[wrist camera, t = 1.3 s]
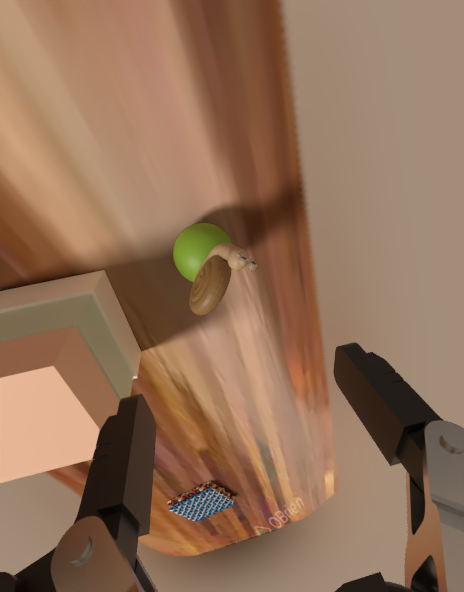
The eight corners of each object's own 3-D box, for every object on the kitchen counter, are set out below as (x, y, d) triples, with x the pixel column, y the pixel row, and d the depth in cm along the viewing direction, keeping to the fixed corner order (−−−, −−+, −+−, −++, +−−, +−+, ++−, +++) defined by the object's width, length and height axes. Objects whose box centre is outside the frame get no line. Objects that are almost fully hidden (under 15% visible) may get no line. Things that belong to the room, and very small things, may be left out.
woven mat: (210, 476, 50) (211, 488, 48) (236, 493, 56) (238, 504, 54) (164, 498, 51) (164, 511, 50) (195, 513, 57) (195, 524, 55)
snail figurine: (244, 223, 26) (288, 280, 16) (212, 276, 28) (233, 356, 18) (193, 194, 23) (207, 239, 13) (164, 255, 26) (157, 332, 16)
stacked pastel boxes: (-15, 294, 25) (-149, 404, 14) (104, 269, 25) (57, 357, 15) (46, 373, 30) (-18, 491, 20) (141, 351, 31) (125, 454, 21)
